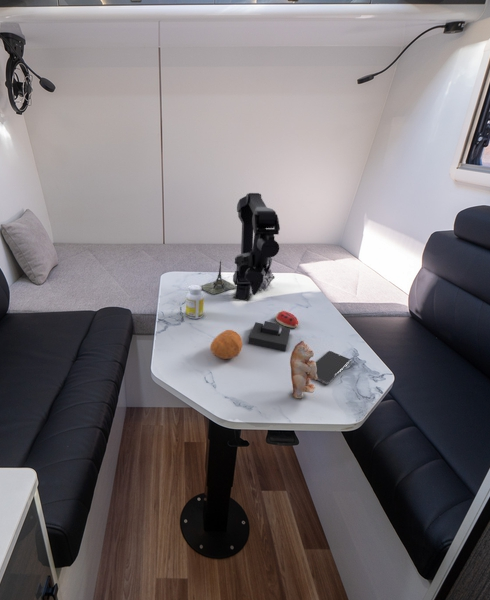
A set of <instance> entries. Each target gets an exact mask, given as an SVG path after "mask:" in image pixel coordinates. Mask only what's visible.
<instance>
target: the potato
mask: <svg viewBox="0 0 490 600" xmlns="http://www.w3.org/2000/svg"><path fill="white" fill-rule="evenodd" d="M242 348H243V340H242V336H241V334H239V333H238V332H237V331H235V330H233V329H225V330H224V331H222V332H221V333H219V334H218V335H217V336H216V337H215V338H214V339H213V340H212V341H211V344H210V351H211V354H213V356H215V357H217V358H218V359H219V358H220V359H224V360H229V359H233V358H235V357H238V356H239V354H240V353H241V352H242Z"/></svg>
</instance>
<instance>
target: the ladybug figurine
mask: <svg viewBox="0 0 490 600" xmlns="http://www.w3.org/2000/svg"><path fill="white" fill-rule="evenodd" d="M275 321H276V323H278V324H280V326H284V327H285V328H289V329H295V328H298V327H299V320H298V318H297V316H295V315H294V314H293V313H291V312H289V311H285V310H281V311H279V312H278V313H277V314H276V315H275Z"/></svg>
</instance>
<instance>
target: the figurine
mask: <svg viewBox="0 0 490 600" xmlns="http://www.w3.org/2000/svg"><path fill="white" fill-rule="evenodd" d="M314 354H315V351H313V350H311V348H310V346H309V345H308V344H306V343H305V341H304V340H301V341H299V342H298V343H297V344H295V345H294V347H293V350H292V352H291V355H290V358H289V359H290V360H289V365H290V378H291V379H290V380H291V384H292V396H293V398H295V399H302V398H304V393H310V394H313V393H314V392H315V389H316V385H315V384H313V383H312V382H311V380H315V381H317V380H316V379H317V374H316V372H317V367H316V363H315V362H316V361H314V360H311V358H313V357H314V356H315V355H314Z"/></svg>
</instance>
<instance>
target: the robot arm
mask: <svg viewBox="0 0 490 600" xmlns="http://www.w3.org/2000/svg"><path fill="white" fill-rule="evenodd" d="M236 212H237V217H238V219H239V221H240V223H241V242H240V243H241V245H240V253H239V254H237V255H235V257H234V264H235V265H236V270H235V271H234V272H233V275H232V282H233V285H235V286H237V287H236V288H235V293H234V294H233V296H232V297H233V299H236V300H243V301H250V299H251V297H252V295H253V296H256V295H257V294H258V291H259V290H260V289H259V288H260V286H261V284H262V282H263V281H264V279H265V276H266V274H267V272H268V270H269V269H271V266H272V264H273V257H275V256H277V255H278V253H279V251H280V245H279V243H278V242H277V240H276V239H275V237H276V235H277V236H278V235H280V232H279V231H280V230H281V227H280V226H281V225H280V220H279V217H278V214H277V212H276V211H275V210H274V209H273V208H270V207H268V206H267V205H266V203H265V201H264V199H263V198H262V194H261V193H260V192H248V193H246V195H245V196H243V197H241V198H240V199H239V200H238V202H237V204H236Z"/></svg>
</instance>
